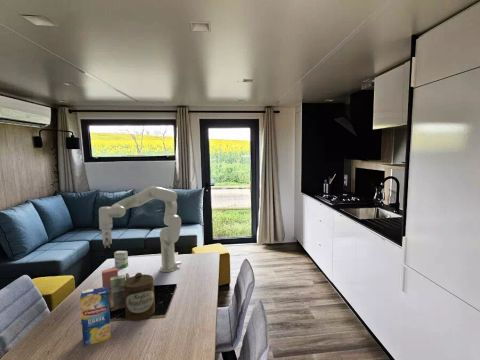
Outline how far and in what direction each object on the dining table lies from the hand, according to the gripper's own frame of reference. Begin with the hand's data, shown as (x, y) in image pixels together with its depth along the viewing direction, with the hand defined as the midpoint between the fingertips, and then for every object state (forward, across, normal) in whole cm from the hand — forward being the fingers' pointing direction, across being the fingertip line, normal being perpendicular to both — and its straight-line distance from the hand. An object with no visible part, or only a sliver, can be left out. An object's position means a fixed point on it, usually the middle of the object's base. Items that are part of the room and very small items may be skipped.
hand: (107, 251), depth 168 cm
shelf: (+23, -21, -6) cm, 32 cm away
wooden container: (+23, -43, -13) cm, 51 cm away
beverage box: (+24, -54, +7) cm, 59 cm away
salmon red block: (+23, -1, -1) cm, 23 cm away
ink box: (+23, +32, -10) cm, 41 cm away
